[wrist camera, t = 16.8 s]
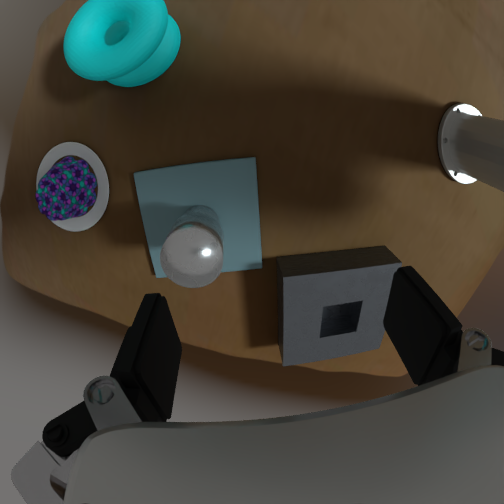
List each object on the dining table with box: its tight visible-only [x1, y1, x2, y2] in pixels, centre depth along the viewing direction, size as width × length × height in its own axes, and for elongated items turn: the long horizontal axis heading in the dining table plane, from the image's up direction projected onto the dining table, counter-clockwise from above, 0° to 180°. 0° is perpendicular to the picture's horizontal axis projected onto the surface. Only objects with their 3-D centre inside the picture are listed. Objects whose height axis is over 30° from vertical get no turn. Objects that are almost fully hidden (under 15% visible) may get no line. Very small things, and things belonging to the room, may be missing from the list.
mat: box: [134, 157, 262, 278], centre depth 33 cm, size 14×14×1 cm
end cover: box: [160, 205, 224, 288], centre depth 28 cm, size 6×6×10 cm
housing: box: [277, 246, 402, 366], centre depth 38 cm, size 16×16×5 cm
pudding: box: [36, 142, 109, 232], centre depth 28 cm, size 12×12×5 cm
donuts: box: [64, 0, 181, 87], centre depth 19 cm, size 10×10×10 cm
